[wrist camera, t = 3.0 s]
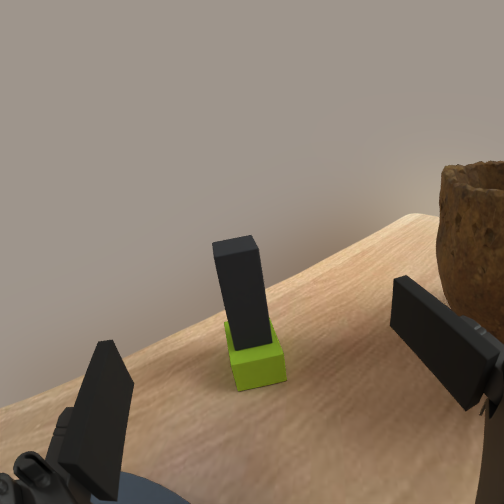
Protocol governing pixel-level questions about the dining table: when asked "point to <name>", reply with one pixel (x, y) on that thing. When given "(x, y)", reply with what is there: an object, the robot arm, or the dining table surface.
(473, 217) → the bowl
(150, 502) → the plate
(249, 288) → the two-tone block stack
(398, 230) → the dining table surface
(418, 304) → the robot arm
